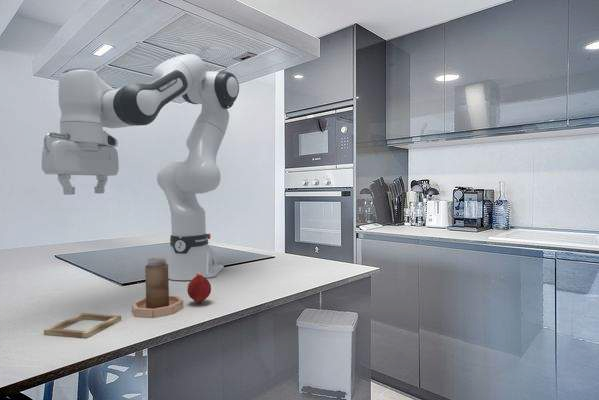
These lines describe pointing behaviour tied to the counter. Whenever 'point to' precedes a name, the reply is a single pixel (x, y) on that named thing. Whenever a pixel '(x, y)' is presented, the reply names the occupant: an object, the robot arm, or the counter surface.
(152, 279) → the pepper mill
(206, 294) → the onion
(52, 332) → the holder frame
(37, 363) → the counter surface
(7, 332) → the counter surface
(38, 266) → the counter surface
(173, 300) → the dish
